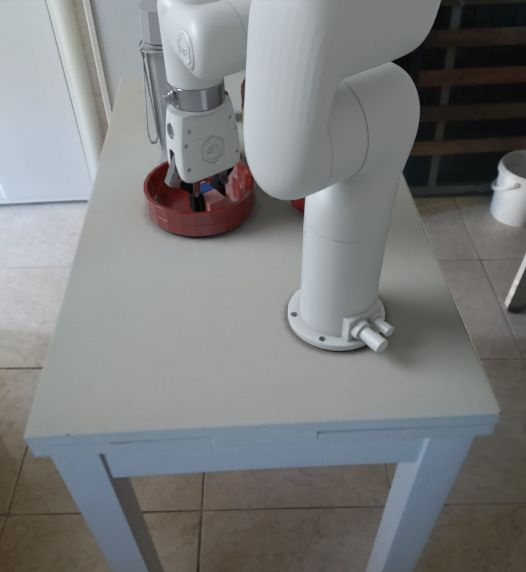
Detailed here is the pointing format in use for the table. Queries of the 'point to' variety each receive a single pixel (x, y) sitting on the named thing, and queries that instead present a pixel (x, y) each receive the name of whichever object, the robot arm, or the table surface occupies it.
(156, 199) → the bowl
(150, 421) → the table surface
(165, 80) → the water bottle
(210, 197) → the eraser
